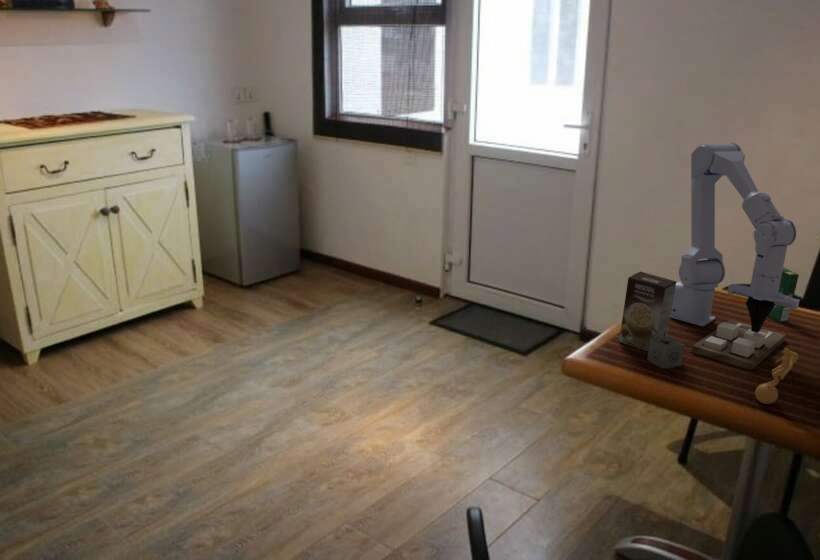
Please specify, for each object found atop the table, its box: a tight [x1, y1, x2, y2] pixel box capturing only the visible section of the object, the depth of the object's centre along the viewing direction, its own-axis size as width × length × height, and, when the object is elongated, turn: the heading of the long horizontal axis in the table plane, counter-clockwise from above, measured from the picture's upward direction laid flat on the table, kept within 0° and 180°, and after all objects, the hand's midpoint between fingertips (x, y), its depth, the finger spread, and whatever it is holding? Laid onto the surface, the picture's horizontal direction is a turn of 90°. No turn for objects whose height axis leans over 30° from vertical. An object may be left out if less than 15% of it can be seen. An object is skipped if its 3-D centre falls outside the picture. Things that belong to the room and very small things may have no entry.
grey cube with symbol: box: [646, 335, 685, 370], centre depth 158 cm, size 5×5×5 cm
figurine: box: [754, 347, 799, 405], centre depth 140 cm, size 8×6×12 cm
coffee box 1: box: [618, 271, 677, 353], centre depth 165 cm, size 9×6×16 cm
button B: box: [743, 329, 766, 349], centre depth 165 cm, size 4×4×3 cm
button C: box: [704, 336, 728, 351], centre depth 164 cm, size 4×4×3 cm
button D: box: [731, 337, 756, 358], centre depth 160 cm, size 4×4×3 cm
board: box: [691, 319, 787, 371], centre depth 168 cm, size 13×23×2 cm, turn 137°
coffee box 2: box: [767, 266, 799, 323], centre depth 185 cm, size 8×3×13 cm, turn 13°
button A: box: [716, 321, 739, 342], centre depth 169 cm, size 4×4×3 cm
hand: (755, 330), depth 164 cm, fingers closed
